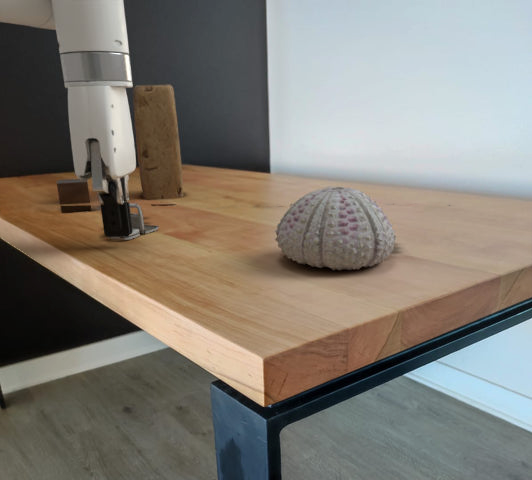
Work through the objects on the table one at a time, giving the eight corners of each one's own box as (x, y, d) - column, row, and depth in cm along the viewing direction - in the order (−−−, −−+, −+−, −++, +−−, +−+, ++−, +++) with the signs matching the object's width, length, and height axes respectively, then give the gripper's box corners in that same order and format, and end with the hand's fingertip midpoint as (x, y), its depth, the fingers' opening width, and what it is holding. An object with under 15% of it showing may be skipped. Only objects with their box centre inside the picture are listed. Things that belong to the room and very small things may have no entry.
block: (185, 206, 98) (176, 82, 90) (143, 208, 97) (129, 83, 88) (180, 197, 108) (171, 85, 99) (142, 199, 106) (129, 85, 98)
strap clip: (125, 242, 73) (121, 209, 71) (107, 240, 74) (102, 208, 72) (160, 229, 80) (158, 199, 78) (143, 228, 81) (140, 198, 79)
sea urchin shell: (330, 241, 70) (332, 177, 67) (419, 260, 61) (427, 186, 58) (252, 260, 63) (250, 188, 59) (340, 285, 53) (344, 201, 50)
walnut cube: (61, 213, 94) (56, 183, 91) (62, 208, 98) (57, 179, 96) (91, 211, 95) (87, 181, 93) (91, 206, 99) (86, 178, 97)
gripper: (87, 77, 69) (108, 224, 76) (37, 70, 55) (68, 249, 63) (146, 76, 68) (160, 223, 76) (110, 68, 55) (132, 249, 62)
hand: (119, 235), depth 69 cm, fingers closed
